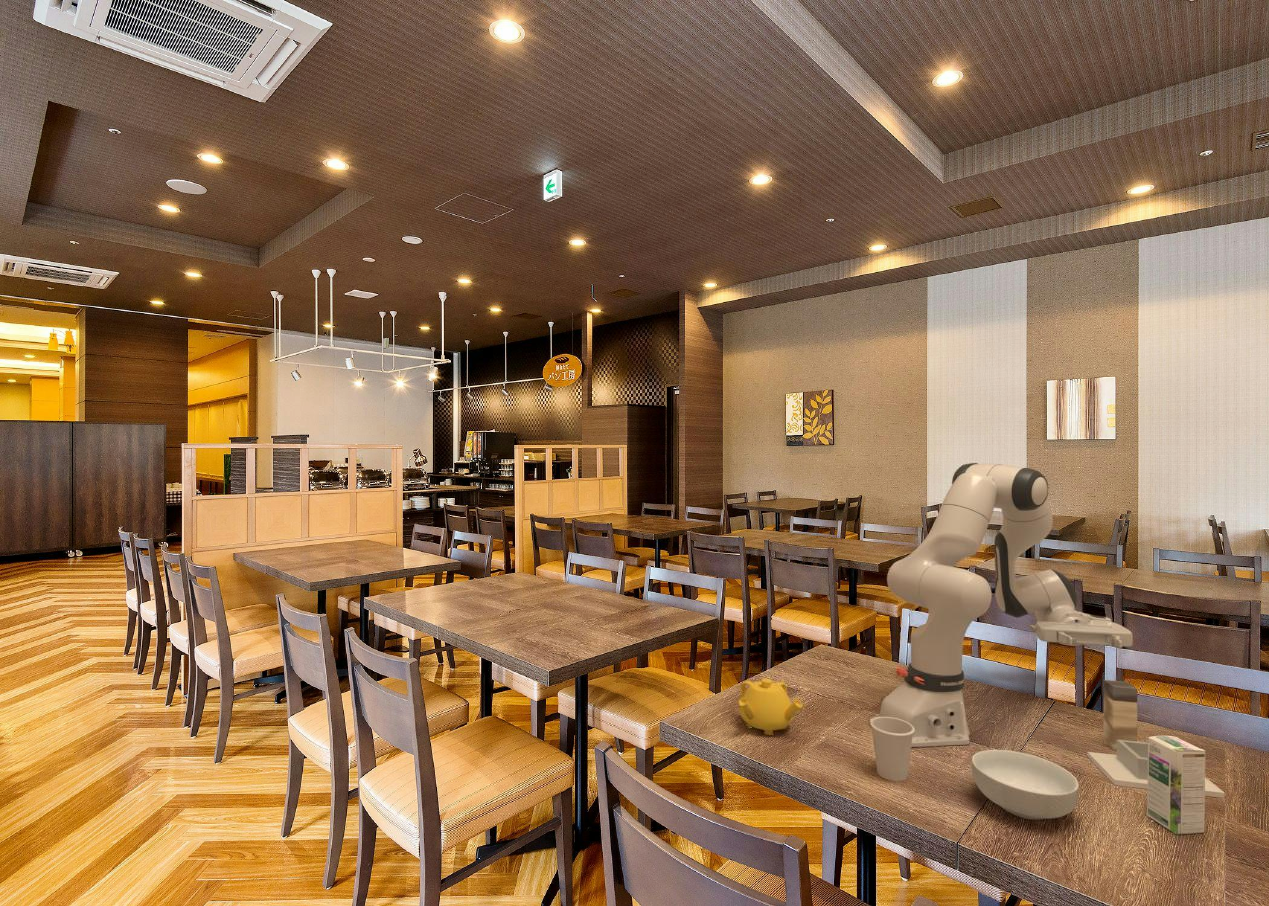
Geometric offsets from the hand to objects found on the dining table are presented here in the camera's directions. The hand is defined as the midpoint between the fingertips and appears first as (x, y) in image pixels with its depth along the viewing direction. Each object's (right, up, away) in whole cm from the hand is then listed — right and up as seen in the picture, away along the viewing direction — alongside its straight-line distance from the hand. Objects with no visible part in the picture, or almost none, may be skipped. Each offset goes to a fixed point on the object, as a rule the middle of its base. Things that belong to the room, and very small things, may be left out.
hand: (1095, 643), depth 151 cm
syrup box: (-16, -20, -41) cm, 48 cm away
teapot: (-80, -20, -3) cm, 83 cm away
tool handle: (-3, -20, -12) cm, 23 cm away
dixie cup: (-59, -20, -24) cm, 67 cm away
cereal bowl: (-40, -20, -36) cm, 57 cm away
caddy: (-7, -19, -24) cm, 32 cm away
